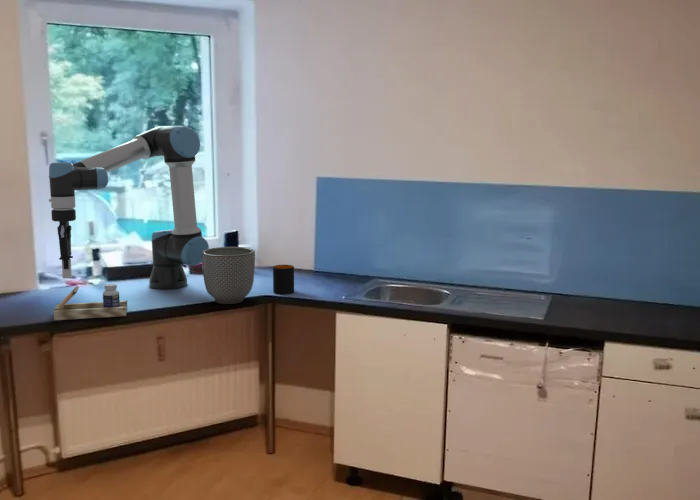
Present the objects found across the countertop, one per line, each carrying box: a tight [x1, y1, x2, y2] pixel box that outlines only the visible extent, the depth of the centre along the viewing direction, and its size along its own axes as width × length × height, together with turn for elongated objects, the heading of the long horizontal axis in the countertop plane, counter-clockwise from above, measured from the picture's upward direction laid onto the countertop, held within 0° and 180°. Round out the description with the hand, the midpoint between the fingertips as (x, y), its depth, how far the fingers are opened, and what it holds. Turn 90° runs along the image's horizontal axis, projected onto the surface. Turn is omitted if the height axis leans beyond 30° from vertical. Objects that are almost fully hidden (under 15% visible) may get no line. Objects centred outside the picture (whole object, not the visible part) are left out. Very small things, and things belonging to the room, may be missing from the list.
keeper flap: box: [59, 285, 80, 308], centre depth 236 cm, size 7×9×1 cm
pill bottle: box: [102, 283, 121, 308], centre depth 240 cm, size 5×5×10 cm
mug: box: [272, 264, 295, 296], centre depth 274 cm, size 8×12×10 cm
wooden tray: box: [53, 300, 128, 321], centre depth 239 cm, size 23×10×4 cm, turn 105°
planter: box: [201, 246, 256, 305], centre depth 257 cm, size 20×20×19 cm
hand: (67, 277), depth 235 cm, fingers closed
